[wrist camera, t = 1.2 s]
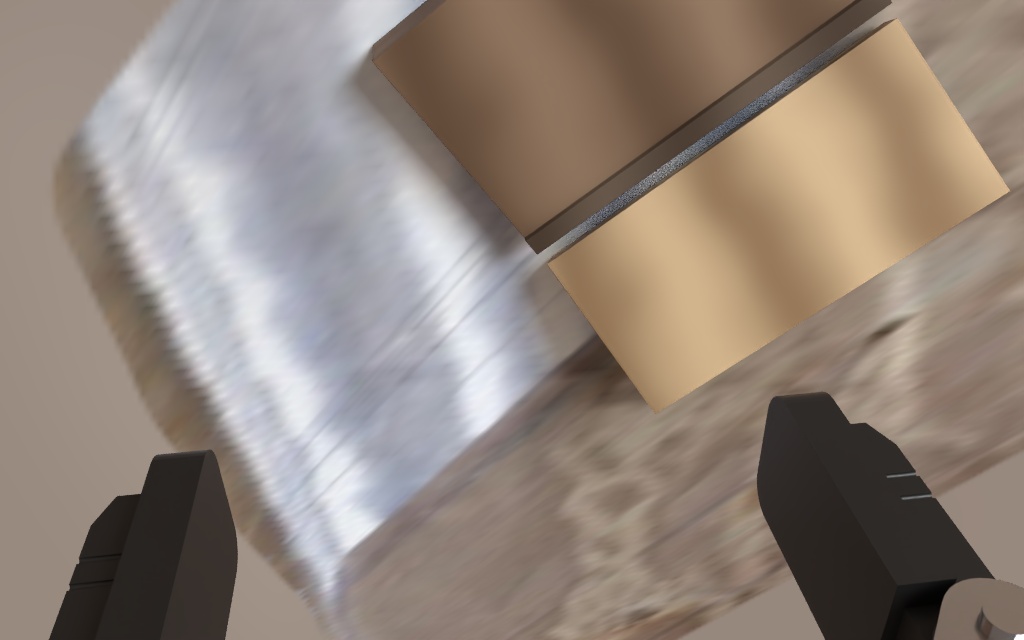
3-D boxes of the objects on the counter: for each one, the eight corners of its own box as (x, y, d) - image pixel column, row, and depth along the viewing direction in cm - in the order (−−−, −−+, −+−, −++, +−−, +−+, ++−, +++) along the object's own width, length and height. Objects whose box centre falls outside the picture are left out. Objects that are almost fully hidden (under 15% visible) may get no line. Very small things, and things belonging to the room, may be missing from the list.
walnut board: (742, -261, 30) (767, -261, 28) (863, -13, 34) (892, 2, 33) (372, 45, 34) (372, 64, 32) (529, 228, 38) (537, 254, 37)
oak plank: (883, 22, 35) (897, 17, 33) (990, 186, 36) (1009, 190, 34) (552, 256, 39) (547, 264, 37) (654, 399, 40) (655, 413, 38)
